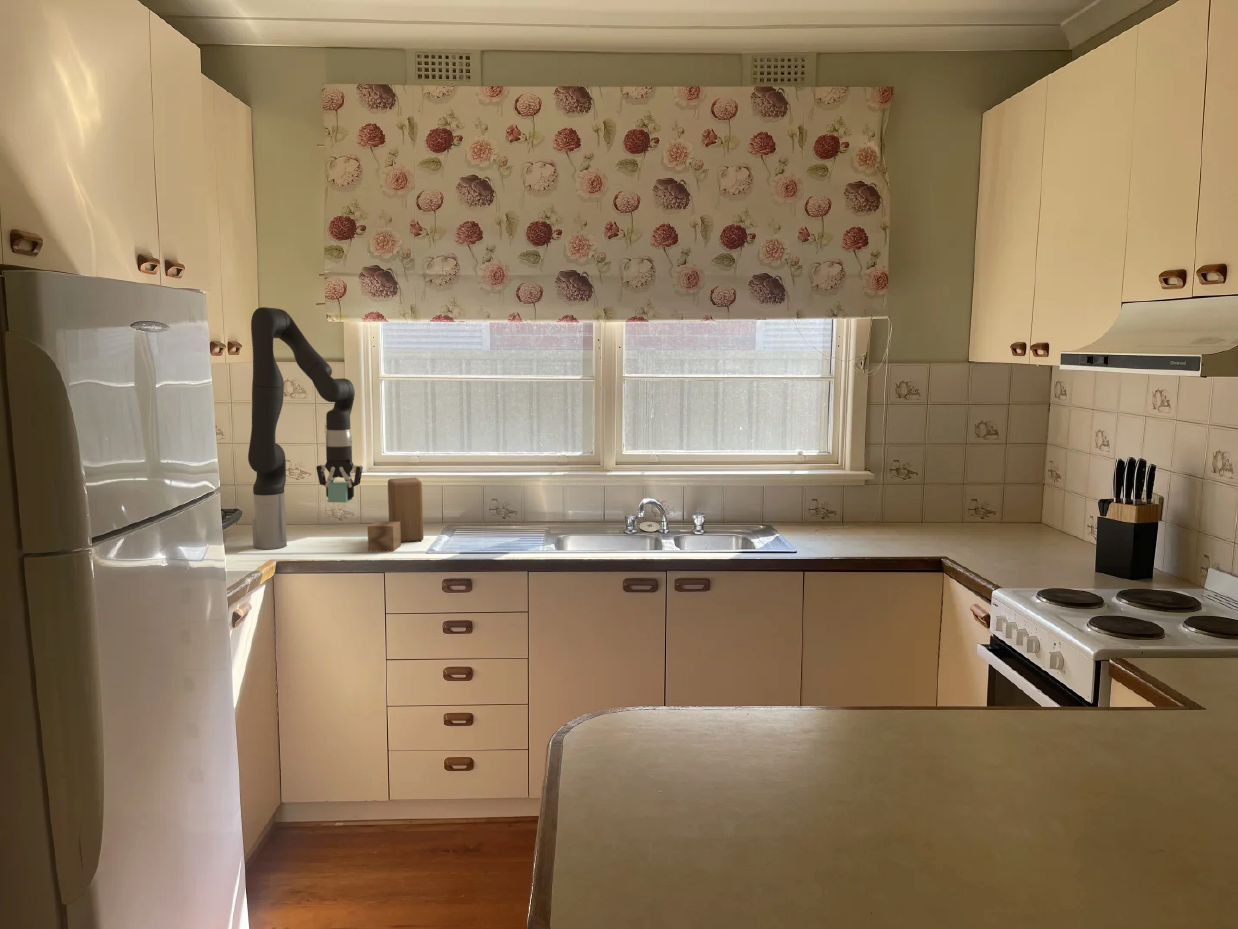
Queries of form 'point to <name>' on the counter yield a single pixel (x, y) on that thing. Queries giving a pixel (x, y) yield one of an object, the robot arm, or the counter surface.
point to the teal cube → (338, 492)
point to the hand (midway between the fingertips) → (340, 498)
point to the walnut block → (384, 536)
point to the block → (406, 507)
